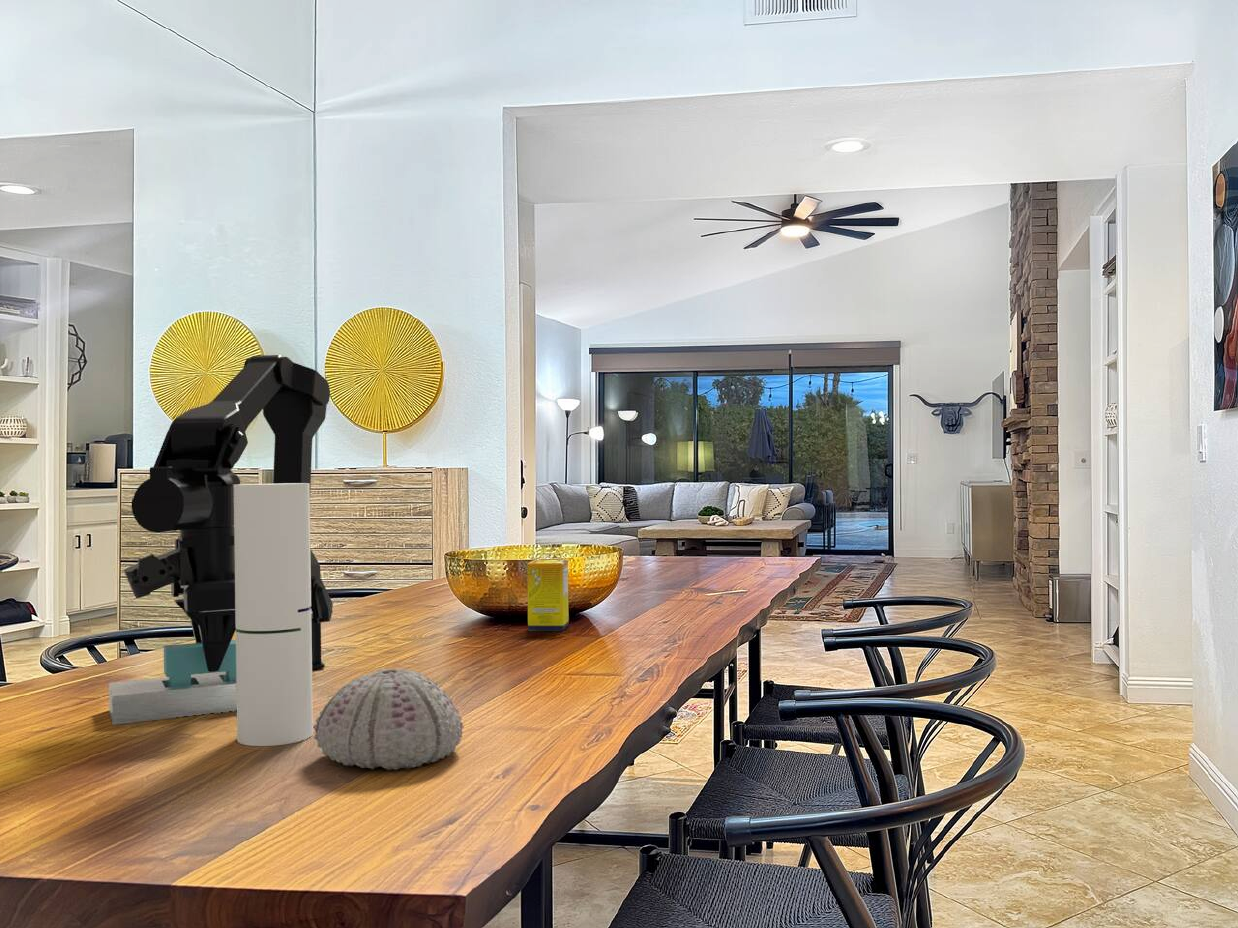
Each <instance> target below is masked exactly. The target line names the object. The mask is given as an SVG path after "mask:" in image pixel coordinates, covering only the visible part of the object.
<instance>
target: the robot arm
mask: <svg viewBox="0 0 1238 928" xmlns="http://www.w3.org/2000/svg"><path fill="white" fill-rule="evenodd" d="M330 389H331V388H330V385H329V382H328V380H327V379H326V378H325V377H323V375H321V374H320V373H319V371H317V370H315V369H313V368H310V367H308V366H305V365H302V364H299V363H296V362H294V361H292V360H291V358H289V357H287V356H283V355H282V354H265V355H263V354H262V355H261V354H260V355H252V356H250V357H248V358H246V359H245V361H244V363H243V368H241V369H240V371H239V372H238V373H237V374H236V375H235V376H234V378H232V380H231V381H229V383H227V384H226V386H225V387H224V388H223V389H222V390H221V391H220V392H219V393H218V394H217V395H216V396H215V397H214V398H213V399H212V400H211V401H209V402H208V403H207V404H204V405H200V406H198V407H197V406H196V407H194V408H190V409H188V410H186V411H185V412H183V413H182V414H180V415H177V417H175V418H174V419H173V421H172V422H171V424H170V425H169V428H168V430H167V432H166V434H165V437H164V439H163V442H162V445H161V448H159V449H160V450H159V452H158V454H157V458H156V459H155V463H154V464H153V466H151V467H150V468H149V479H147V480H144V481H143V482H142V483H141V484H140V485H139V486H138V487H137V489H136V490H135V492H134V495H133V498H132V500H131V511H132V515H133V517H134V520H135V521H136V523H138V525H139V526H140V527H142V528H143V529H145V530H146V531H147V532H151V533H166V532H167V533H168V532H175V531H177V532H178V531H179V535H178V536H177V538H175V541H174V547H175V549H174V550H171V551H168V552H164V553H161V554H160V555H159V554H158V555H157V556H156V555H154V554H153V553H149V554H148V555H147V556H145V557H139V558H138V559H137V563H135V564H133V565H131V566H129V567H126V568H124V569H123V572H124V575H125V578H126V580H127V583H128V585H129V586H130V588H131V592H132V594H133V596H134V597H135V599H140V598H144V597H146V596H149V595H151V593H152V592H154V591H157V590H159V589H161V588H163V587H167V586H169V585H170V593H171V594H170V595H171V596H172V598H178V597H179V596H180V595H181V599H174V603H175V604H176V605H177V606H178V607H179V608H180V609H182V610H183V613H185V615H186V616H187V617H188V618H189V620H190V624H191V628H192V632H193V637H194V640H195V643H202V646H203V650H204V655H205V660H206V665H207V669H208V671H209V672H215V671H218V670H219V669H220V666H221V664H222V661H223V659H224V657H225V654H226V652H227V649H228V647H229V644H230V642H231V640H233V637H234V635H235V634H236V630H237V629H236V621H235V541H234V485H238V484H241V479H240V477H239V476H238V475H237V474H236V473H234V471H232V469H234V467H235V465H236V464H237V463H238V461H240V458H241V457H242V455H243V453H244V451H245V449H246V447H247V446H248V444H249V441H248V437H247V434H246V431H247V429H248V428H249V426H250V425H251V423H253V422H254V420H255V419H256V418H257V417H258V415H259V414H260V413H261V411H262V414H263V415H262V416H263V417H264V419H265V420H266V422H267V424H268V426H269V428H270V429H271V431H272V433H273V435H274V451H273V452H274V453H273V474H272V475H273V478H272V484H281V483H309V484H310V489H311V485H312V482H311V481H312V460H313V459H312V457H313V456H312V455H313V438H314V436H315V435H316V433H317V432H318V431H319V429H320V427H322V425H323V423H324V422H325V420H326V416H327V415H326V414H327V406H328V405H329V402H330V397H331V390H330ZM310 558H311V606H310V608H311V629H312V670H317V669H323V668H326V666H325V665H326V664H325V663H324V662H322V623H327V622H331V619H332V615H333V611H334V610H333V601H332V599H331V596H330V594H329V593H328V590H327V588H326V586H325V584H324V582H323V580H322V577H321V565H320V562H319V561H318V559H317V558H316V556H315V554H314V553H313V550H312V549H311V548H310Z"/></svg>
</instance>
